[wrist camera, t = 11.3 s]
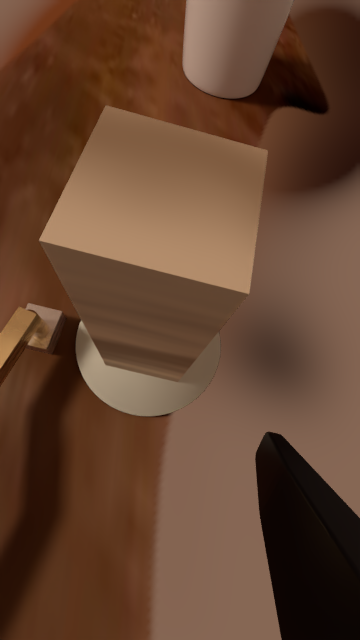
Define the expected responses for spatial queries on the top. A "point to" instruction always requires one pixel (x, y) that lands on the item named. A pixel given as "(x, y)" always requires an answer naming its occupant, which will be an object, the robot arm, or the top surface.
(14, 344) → the zigzag wooden handle
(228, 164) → the maple peg
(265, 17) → the candle holder
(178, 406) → the coaster
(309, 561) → the robot arm
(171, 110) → the top surface
